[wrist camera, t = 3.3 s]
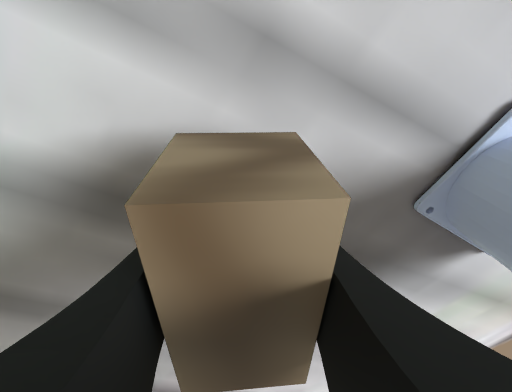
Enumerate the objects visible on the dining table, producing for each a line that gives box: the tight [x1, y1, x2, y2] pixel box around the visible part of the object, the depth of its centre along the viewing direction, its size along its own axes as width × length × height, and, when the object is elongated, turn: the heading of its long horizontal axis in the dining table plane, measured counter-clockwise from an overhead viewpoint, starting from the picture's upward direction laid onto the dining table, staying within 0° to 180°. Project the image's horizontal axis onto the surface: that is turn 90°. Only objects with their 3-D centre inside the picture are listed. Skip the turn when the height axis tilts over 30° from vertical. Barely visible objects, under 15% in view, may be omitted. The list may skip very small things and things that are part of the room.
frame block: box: [124, 132, 351, 392], centre depth 9 cm, size 5×8×5 cm, turn 179°
